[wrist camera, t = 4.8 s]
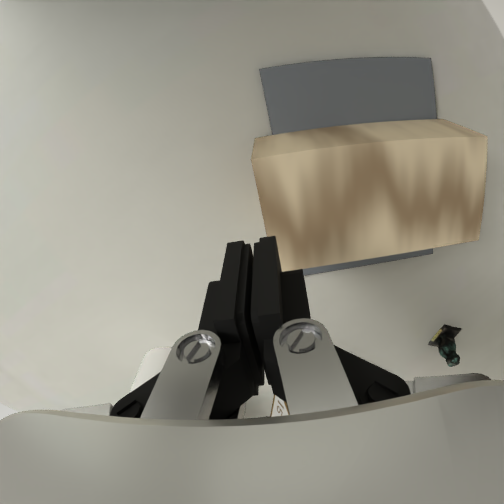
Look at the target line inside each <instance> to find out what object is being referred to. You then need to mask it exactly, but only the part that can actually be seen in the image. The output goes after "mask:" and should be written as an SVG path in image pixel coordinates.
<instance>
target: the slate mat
mask: <svg viewBox="0 0 504 504" xmlns="http://www.w3.org/2000/svg"><path fill="white" fill-rule="evenodd" d="M259 71H260V75H261V80H262V85H263V90H264V95H265V100H266V105H267V110H268V115H269V120H270V125H271V130H272V135H276V134H282V133H289V132H295V131H302V130H309V129H317V128H325V127H333V126H342V125H352V124H362V123H374V122H387V121H403V120H425V119H437V115H436V101H435V90H434V80H433V72H432V64H431V58H417V57H372V58H349V59H335V60H323V61H313V62H305V63H296V64H289V65H282V66H275V67H269V68H263V69H259ZM428 254H433V248H431V249H425V250H419V251H413V252H407V253H401V254H395V255H389V256H383V257H377V258H371V259H364V260H358V261H352V262H345V263H339V264H332V265H326V266H319V267H312V268H306V269H303V275H310V274H316V273H323V272H329V271H335V270H341V269H347V268H354V267H360V266H365V265H371V264H377V263H383V262H389V261H394V260H400V259H406V258H411V257H417V256H422V255H428Z"/></svg>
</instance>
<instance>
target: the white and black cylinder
mask: <svg viewBox="0 0 504 504" xmlns="http://www.w3.org/2000/svg"><path fill="white" fill-rule="evenodd" d="M171 349H172V348H170V347H157V348H154V349H151V350H149V351H148V352H147V353H146V354H145V355H144V357H143V360H142V362H141V365H140V367H139V370H138V372H137V375H136V377H135V380H134V382H133V385H132V387H131V390H130V392H132V391H133V390H135V389H136V388H138V387H139V386H141V385H142V384H144V383H145V382H146V381H148V380H149V379H151V378H152V377H154V376H155V375H157V374H158V373H159V372H161V370H162V368H163V366H164V364H165V362H166V360H167V357H168V355H169V353H170V351H171ZM130 392H129V393H130Z"/></svg>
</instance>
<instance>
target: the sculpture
mask: <svg viewBox="0 0 504 504" xmlns="http://www.w3.org/2000/svg"><path fill="white" fill-rule="evenodd" d="M461 329H462V328H457V327H452V326H449V325H443V327H442V328H441V329H440V330H439V331H438V332H437V333H436V335H435V336H434V337H433V338H432V340H431V341H430V342H429V344H428V345H432V346H437V347H438V348H439V353H440V355H441V356H442V357H444V358H445V359H446V362H447V364H448V366H449V367H452V366H455V365H458V364H459V361H460V357H459V355H457V354H456V344H455V339H454V338H455V337H456V335H457V334H458V333H459V332H460V331H461Z"/></svg>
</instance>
